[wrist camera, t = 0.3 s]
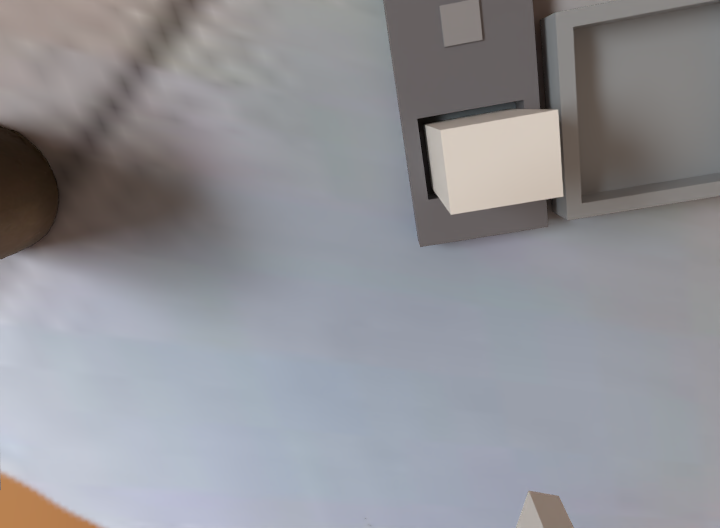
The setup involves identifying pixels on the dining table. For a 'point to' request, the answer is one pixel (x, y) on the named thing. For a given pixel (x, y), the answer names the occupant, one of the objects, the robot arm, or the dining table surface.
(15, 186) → the pillar candle
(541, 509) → the robot arm
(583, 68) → the tray
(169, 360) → the dining table surface
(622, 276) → the dining table surface
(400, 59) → the power strip
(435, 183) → the block
